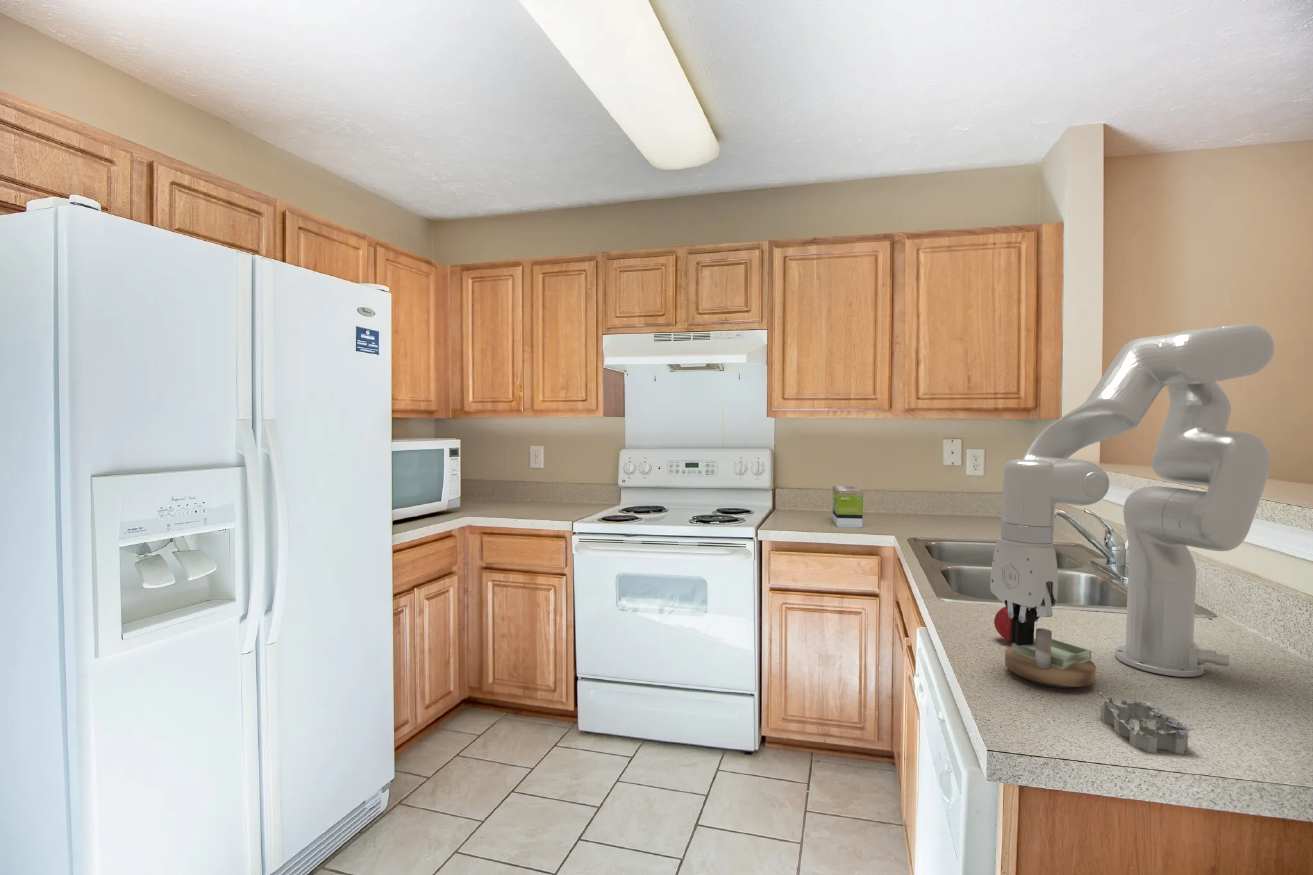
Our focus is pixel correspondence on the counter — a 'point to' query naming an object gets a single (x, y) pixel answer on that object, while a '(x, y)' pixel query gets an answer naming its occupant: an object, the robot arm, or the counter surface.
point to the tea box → (848, 506)
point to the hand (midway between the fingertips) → (1021, 643)
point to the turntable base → (1048, 684)
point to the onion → (1003, 623)
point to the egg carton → (1146, 725)
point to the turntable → (1051, 661)
